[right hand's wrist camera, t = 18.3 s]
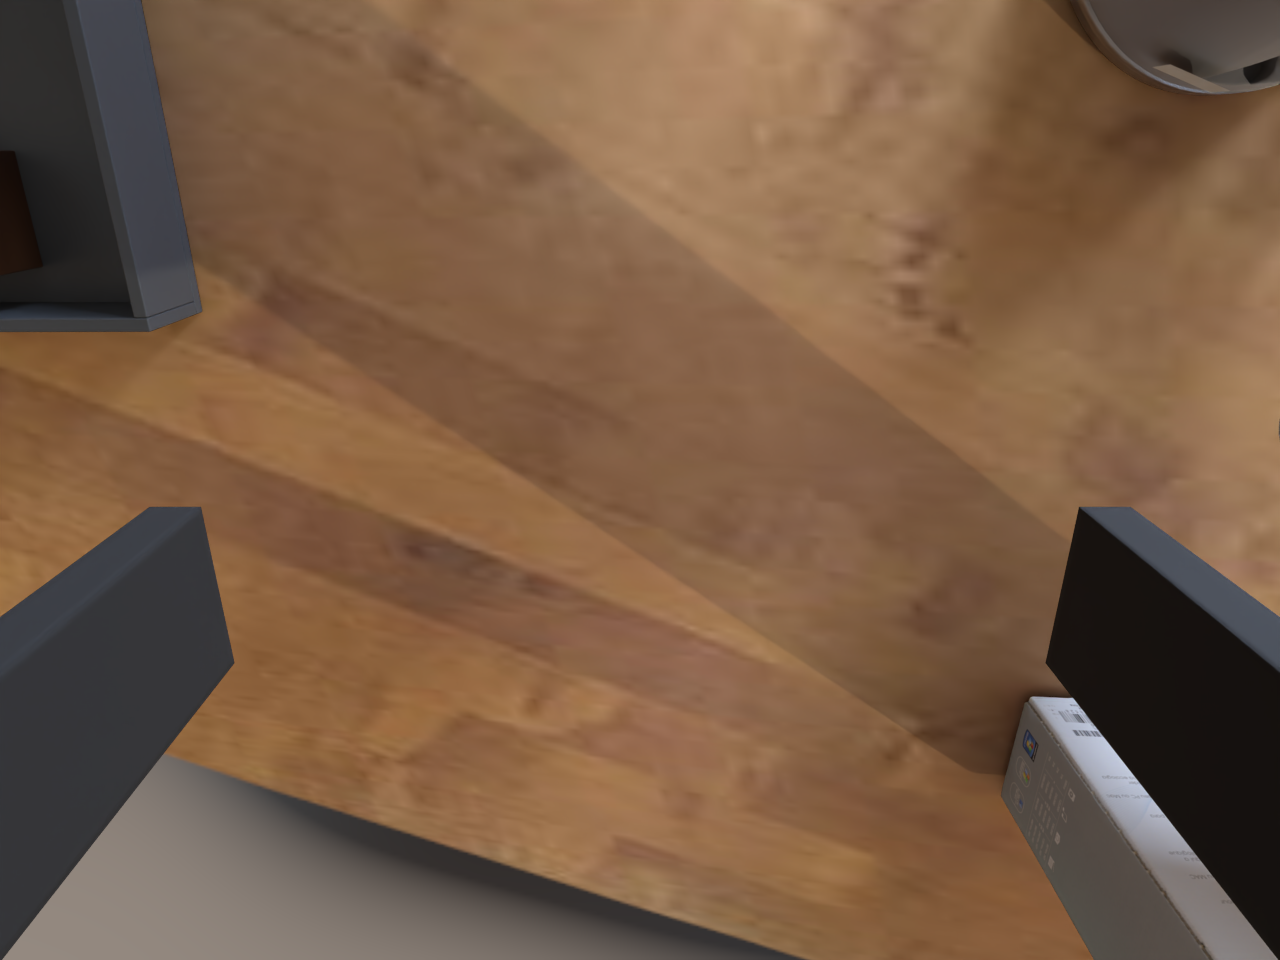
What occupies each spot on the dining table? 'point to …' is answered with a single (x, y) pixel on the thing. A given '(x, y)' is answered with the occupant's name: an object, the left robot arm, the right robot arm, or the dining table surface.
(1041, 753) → the hard drive box
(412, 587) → the dining table surface
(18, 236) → the walnut cube
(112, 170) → the grey tray
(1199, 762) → the right robot arm
